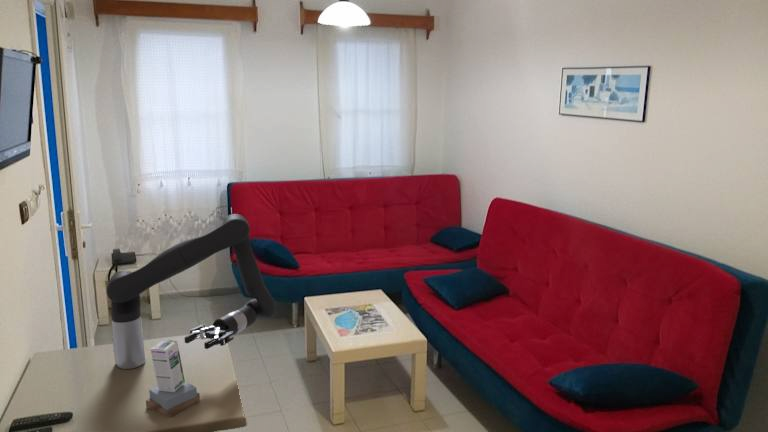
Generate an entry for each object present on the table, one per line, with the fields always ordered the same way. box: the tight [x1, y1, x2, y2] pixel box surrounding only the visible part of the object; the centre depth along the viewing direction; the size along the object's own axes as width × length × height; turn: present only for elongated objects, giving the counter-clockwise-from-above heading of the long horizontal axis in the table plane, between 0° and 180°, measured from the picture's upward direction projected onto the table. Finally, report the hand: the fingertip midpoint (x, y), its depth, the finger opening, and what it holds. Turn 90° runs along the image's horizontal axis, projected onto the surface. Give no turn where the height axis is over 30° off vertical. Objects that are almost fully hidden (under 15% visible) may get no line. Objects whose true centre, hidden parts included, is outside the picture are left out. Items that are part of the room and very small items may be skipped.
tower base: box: [145, 392, 201, 418], centre depth 182 cm, size 11×11×3 cm
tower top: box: [148, 380, 198, 410], centre depth 181 cm, size 10×10×3 cm
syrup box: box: [150, 339, 186, 392], centre depth 179 cm, size 6×6×14 cm
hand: (195, 343), depth 188 cm, fingers open, 8 cm apart
